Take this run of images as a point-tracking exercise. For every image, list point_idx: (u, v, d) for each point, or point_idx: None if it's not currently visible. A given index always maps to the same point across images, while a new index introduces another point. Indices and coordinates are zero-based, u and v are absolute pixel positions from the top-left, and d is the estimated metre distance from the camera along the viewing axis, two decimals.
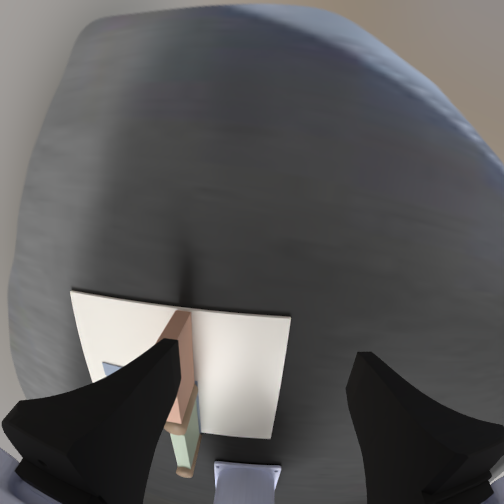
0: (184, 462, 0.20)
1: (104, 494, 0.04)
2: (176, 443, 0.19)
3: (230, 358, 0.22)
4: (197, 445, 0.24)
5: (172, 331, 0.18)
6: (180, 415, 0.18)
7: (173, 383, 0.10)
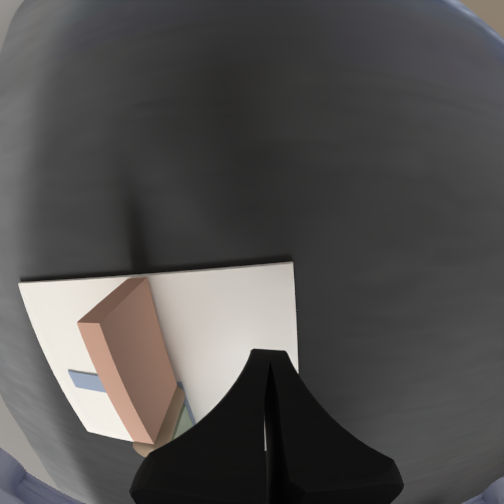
0: None
1: None
2: None
3: (217, 341, 0.15)
4: None
5: (111, 301, 0.11)
6: (148, 432, 0.11)
7: (265, 394, 0.10)
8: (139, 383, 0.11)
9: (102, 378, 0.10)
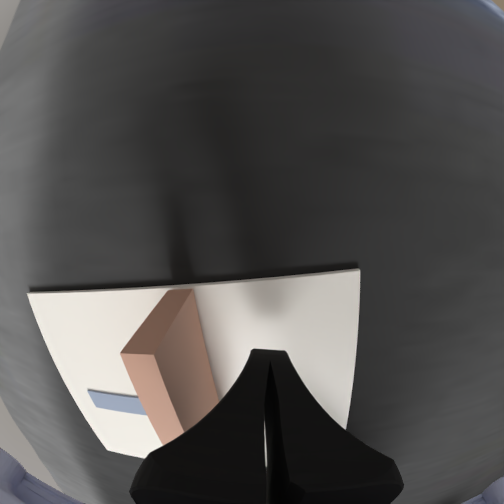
0: None
1: None
2: None
3: None
4: None
5: (158, 322, 0.10)
6: None
7: (265, 394, 0.10)
8: (192, 414, 0.10)
9: (151, 415, 0.08)
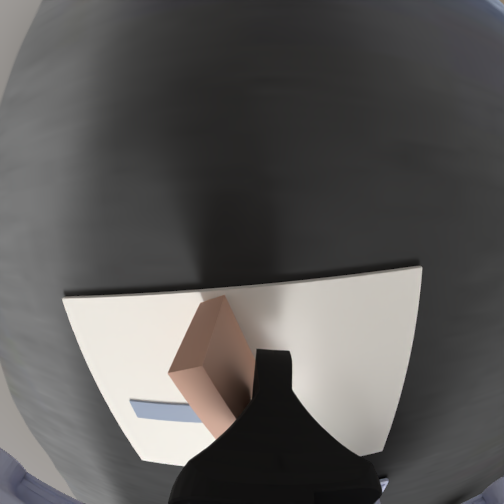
0: None
1: None
2: None
3: (337, 354, 0.13)
4: None
5: (199, 334, 0.10)
6: None
7: None
8: None
9: (212, 428, 0.08)
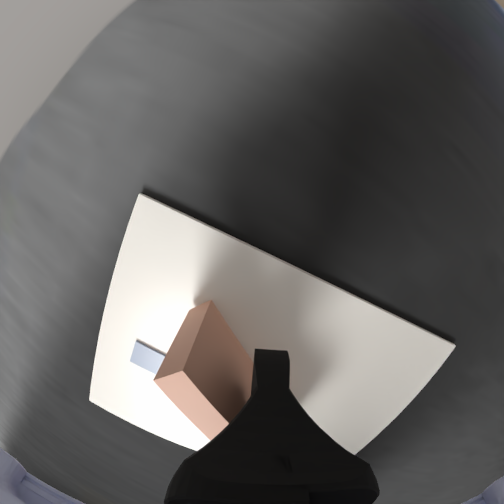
0: None
1: None
2: None
3: (367, 383, 0.14)
4: None
5: (184, 340, 0.10)
6: None
7: None
8: None
9: (206, 431, 0.08)
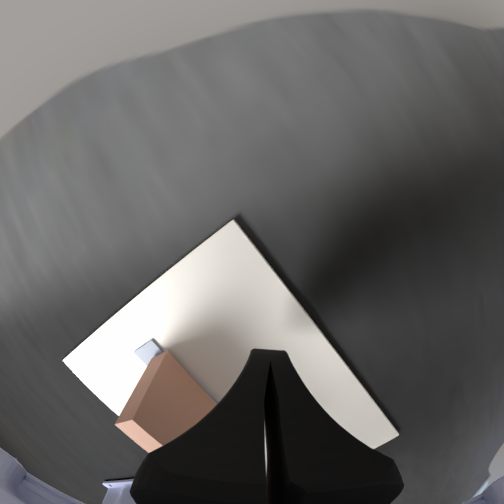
0: None
1: None
2: None
3: None
4: None
5: (139, 390, 0.11)
6: None
7: (265, 394, 0.10)
8: None
9: None
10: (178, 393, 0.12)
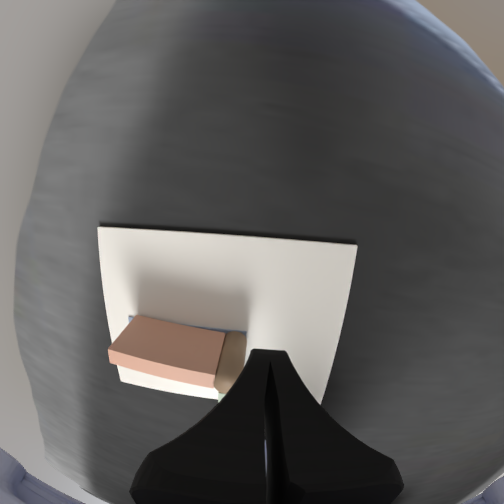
0: None
1: None
2: None
3: (289, 297, 0.20)
4: None
5: None
6: (201, 371, 0.16)
7: (265, 394, 0.10)
8: (167, 353, 0.17)
9: (146, 371, 0.16)
10: (146, 330, 0.19)
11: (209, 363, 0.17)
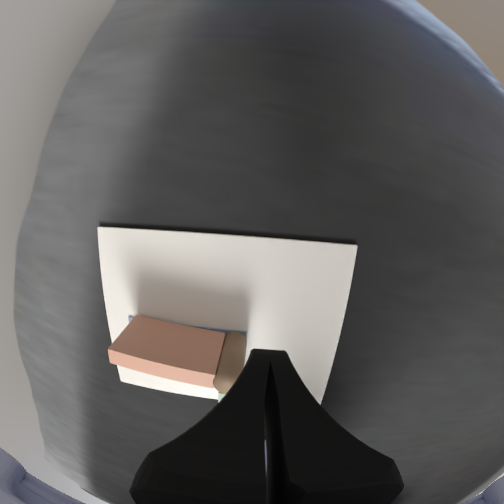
0: None
1: None
2: None
3: (289, 297, 0.20)
4: None
5: None
6: (201, 371, 0.16)
7: (265, 394, 0.10)
8: (167, 353, 0.17)
9: (146, 371, 0.16)
10: (146, 330, 0.19)
11: (209, 363, 0.17)
